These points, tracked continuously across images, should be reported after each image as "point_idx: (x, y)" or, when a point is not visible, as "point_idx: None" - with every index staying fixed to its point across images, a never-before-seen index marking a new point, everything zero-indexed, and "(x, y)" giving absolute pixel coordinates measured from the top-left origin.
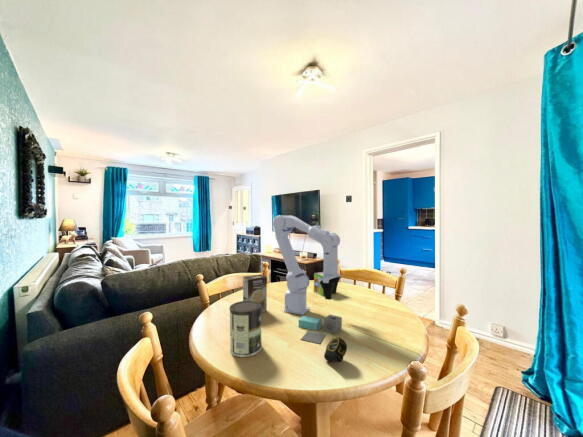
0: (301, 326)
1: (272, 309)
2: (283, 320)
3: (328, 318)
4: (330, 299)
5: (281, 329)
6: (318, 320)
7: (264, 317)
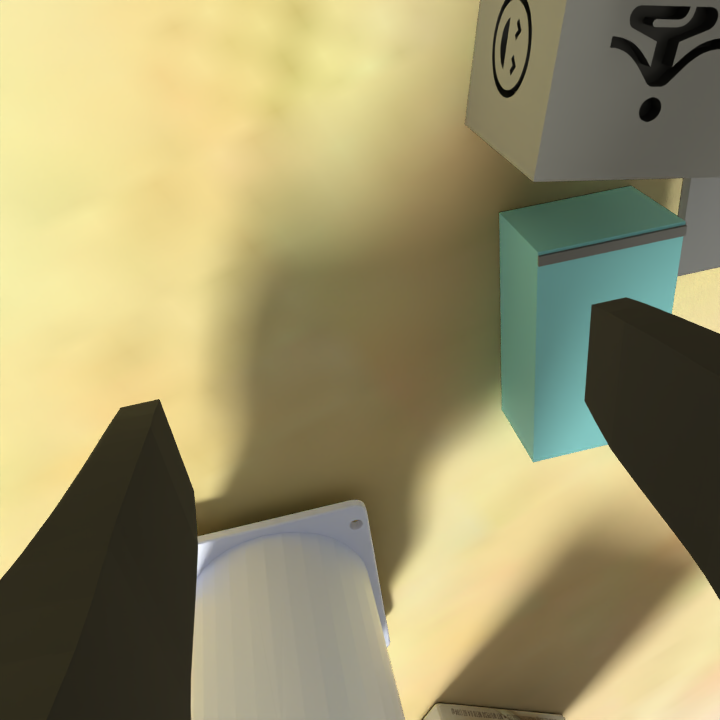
0: None
1: None
2: (522, 546)
3: (691, 123)
4: (621, 299)
5: None
6: (598, 262)
7: (532, 654)
